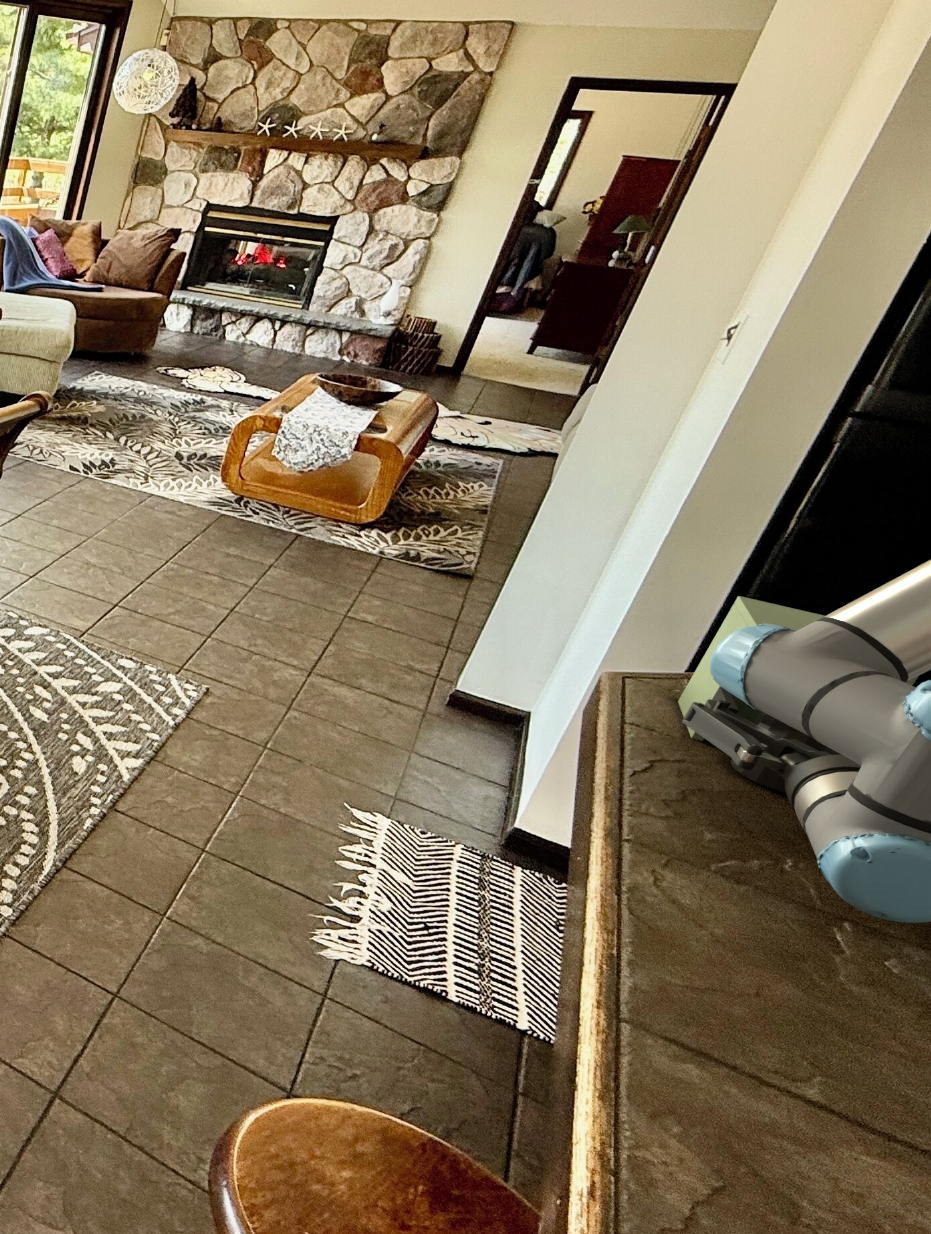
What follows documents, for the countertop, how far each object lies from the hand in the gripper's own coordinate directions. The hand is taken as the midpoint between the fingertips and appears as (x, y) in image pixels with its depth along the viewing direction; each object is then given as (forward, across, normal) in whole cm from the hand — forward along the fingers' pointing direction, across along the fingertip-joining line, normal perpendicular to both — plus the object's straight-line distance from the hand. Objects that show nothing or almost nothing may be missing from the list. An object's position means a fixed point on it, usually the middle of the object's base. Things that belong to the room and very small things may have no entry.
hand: (803, 721), depth 108 cm
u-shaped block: (+9, 0, -7) cm, 11 cm away
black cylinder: (-2, 0, -7) cm, 7 cm away
